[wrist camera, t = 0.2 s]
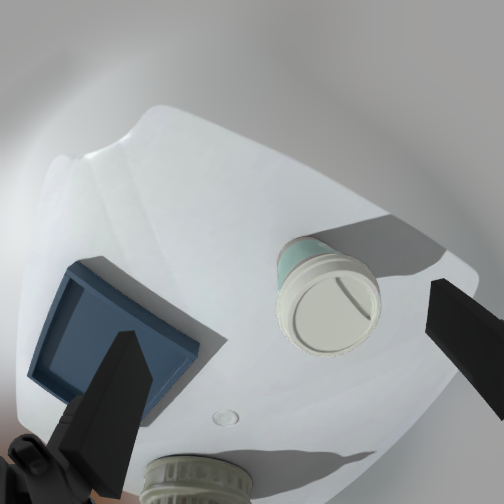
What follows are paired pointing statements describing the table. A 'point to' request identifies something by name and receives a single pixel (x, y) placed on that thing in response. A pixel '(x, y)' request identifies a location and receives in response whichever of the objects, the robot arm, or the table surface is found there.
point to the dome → (195, 482)
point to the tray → (102, 338)
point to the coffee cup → (325, 298)
